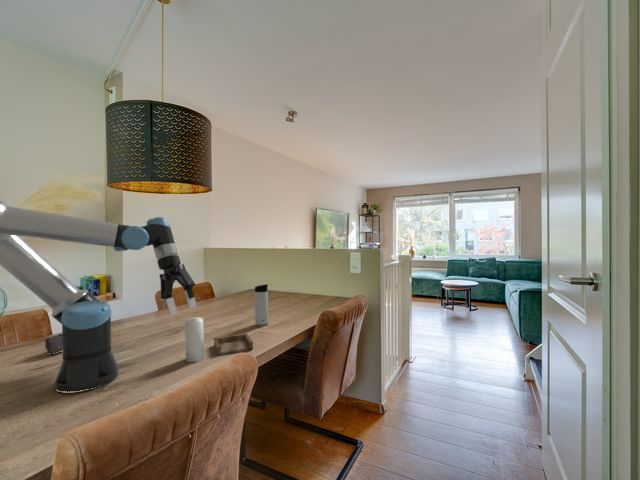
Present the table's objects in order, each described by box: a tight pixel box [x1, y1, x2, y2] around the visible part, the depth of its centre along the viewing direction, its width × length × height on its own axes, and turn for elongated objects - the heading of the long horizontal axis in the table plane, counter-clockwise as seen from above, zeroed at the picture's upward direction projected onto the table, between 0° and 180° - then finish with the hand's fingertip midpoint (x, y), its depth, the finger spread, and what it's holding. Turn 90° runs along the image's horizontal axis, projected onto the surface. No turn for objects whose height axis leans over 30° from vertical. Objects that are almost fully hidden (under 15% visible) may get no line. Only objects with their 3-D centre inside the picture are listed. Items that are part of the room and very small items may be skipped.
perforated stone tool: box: [44, 333, 63, 354], centre depth 117 cm, size 15×5×7 cm, turn 173°
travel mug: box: [254, 284, 269, 327], centre depth 148 cm, size 6×7×20 cm
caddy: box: [213, 333, 254, 357], centre depth 117 cm, size 13×12×3 cm
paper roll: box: [184, 317, 205, 363], centre depth 107 cm, size 6×6×14 cm
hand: (183, 311), depth 111 cm, fingers open, 13 cm apart
